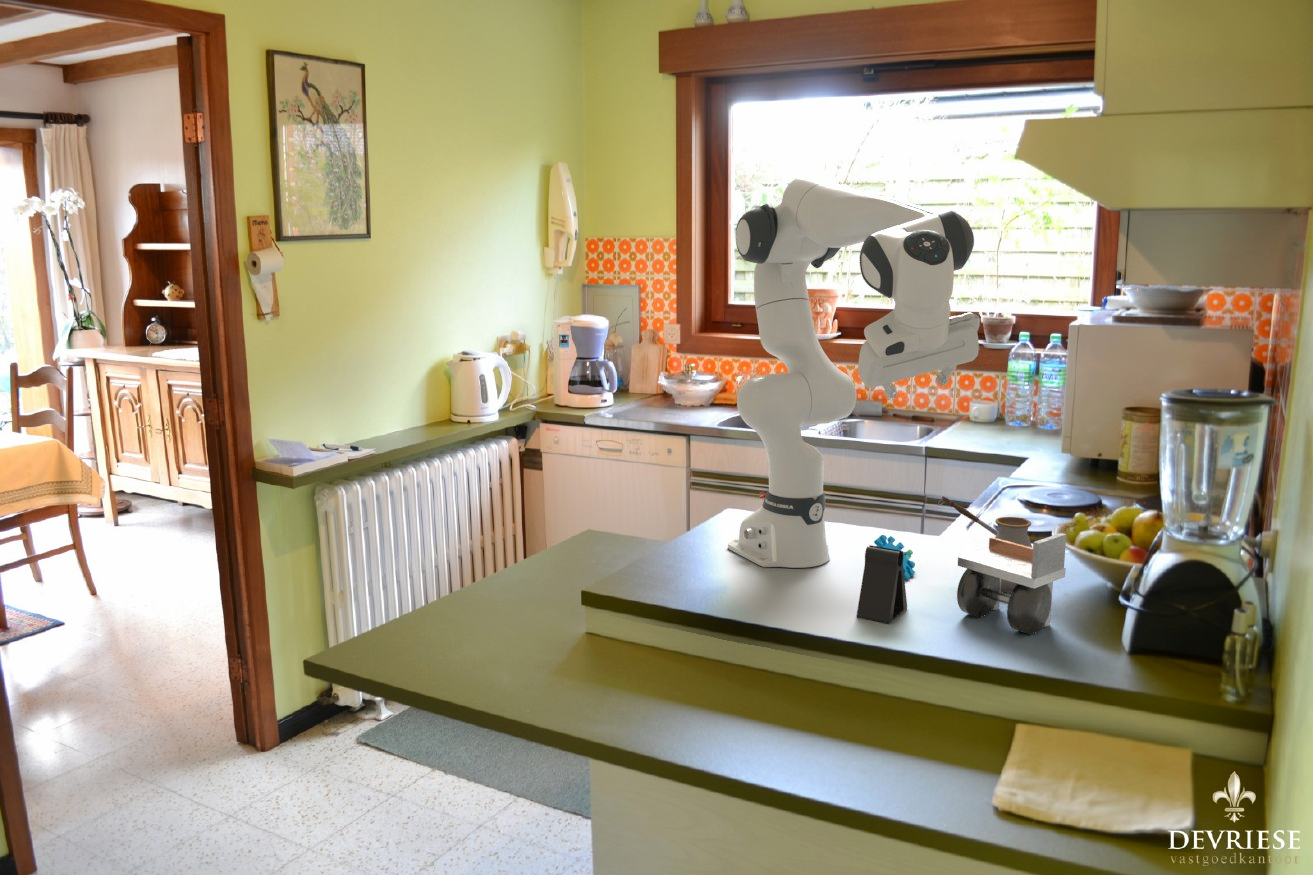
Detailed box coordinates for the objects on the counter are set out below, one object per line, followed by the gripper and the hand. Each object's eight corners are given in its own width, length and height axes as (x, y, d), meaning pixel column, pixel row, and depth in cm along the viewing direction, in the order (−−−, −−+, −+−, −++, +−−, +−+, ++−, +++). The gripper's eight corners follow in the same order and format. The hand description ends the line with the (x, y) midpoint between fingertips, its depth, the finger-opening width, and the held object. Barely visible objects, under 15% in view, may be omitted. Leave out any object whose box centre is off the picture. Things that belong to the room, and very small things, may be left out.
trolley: (949, 616, 179) (954, 525, 176) (985, 602, 185) (990, 514, 182) (1025, 642, 167) (1031, 545, 164) (1061, 627, 174) (1068, 533, 170)
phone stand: (888, 624, 176) (890, 558, 173) (856, 617, 179) (858, 552, 177) (907, 608, 183) (910, 544, 181) (876, 602, 186) (878, 539, 184)
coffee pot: (1052, 586, 194) (1057, 510, 191) (1023, 601, 186) (1028, 522, 183) (951, 561, 209) (955, 490, 206) (921, 574, 201) (924, 501, 198)
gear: (895, 578, 194) (869, 534, 198) (875, 594, 197) (850, 550, 202) (928, 573, 201) (903, 531, 206) (908, 588, 205) (883, 546, 209)
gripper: (971, 299, 168) (964, 363, 178) (854, 330, 166) (853, 393, 176) (990, 321, 163) (981, 385, 173) (870, 353, 162) (868, 416, 171)
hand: (916, 389), depth 174 cm, fingers open, 8 cm apart
